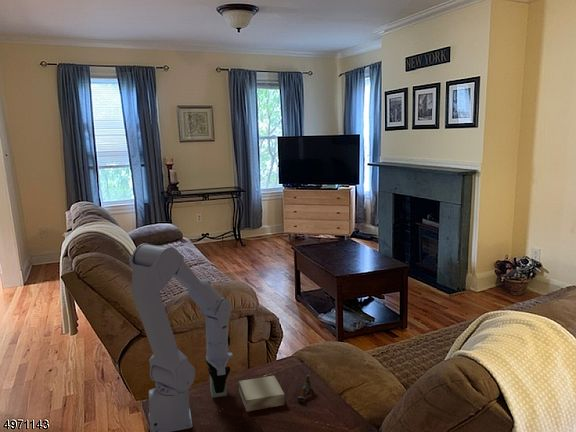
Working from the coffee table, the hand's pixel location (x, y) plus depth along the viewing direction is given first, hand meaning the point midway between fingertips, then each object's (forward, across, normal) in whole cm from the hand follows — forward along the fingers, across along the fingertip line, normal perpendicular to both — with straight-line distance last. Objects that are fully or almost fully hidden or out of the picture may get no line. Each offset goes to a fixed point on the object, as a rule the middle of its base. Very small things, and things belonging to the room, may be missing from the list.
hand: (218, 387), depth 116 cm
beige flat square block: (+1, -6, -10) cm, 12 cm away
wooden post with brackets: (+2, -8, -22) cm, 23 cm away
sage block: (+1, 0, 0) cm, 1 cm away
